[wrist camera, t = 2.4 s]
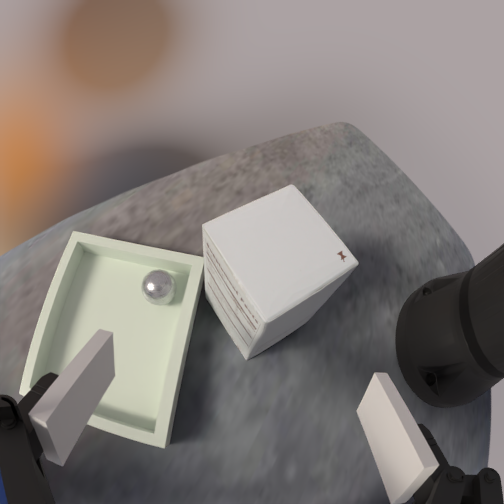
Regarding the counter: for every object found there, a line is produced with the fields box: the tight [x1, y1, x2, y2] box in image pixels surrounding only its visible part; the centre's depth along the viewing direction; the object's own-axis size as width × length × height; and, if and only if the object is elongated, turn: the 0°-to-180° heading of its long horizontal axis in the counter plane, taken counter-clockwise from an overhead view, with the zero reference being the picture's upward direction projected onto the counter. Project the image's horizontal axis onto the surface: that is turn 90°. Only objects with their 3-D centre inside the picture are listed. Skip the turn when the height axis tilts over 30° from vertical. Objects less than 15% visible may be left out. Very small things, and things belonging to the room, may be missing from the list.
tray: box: [19, 231, 205, 448], centre depth 25 cm, size 14×17×3 cm
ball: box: [141, 269, 177, 305], centre depth 27 cm, size 3×3×3 cm
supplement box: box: [202, 185, 359, 360], centre depth 24 cm, size 7×7×13 cm
